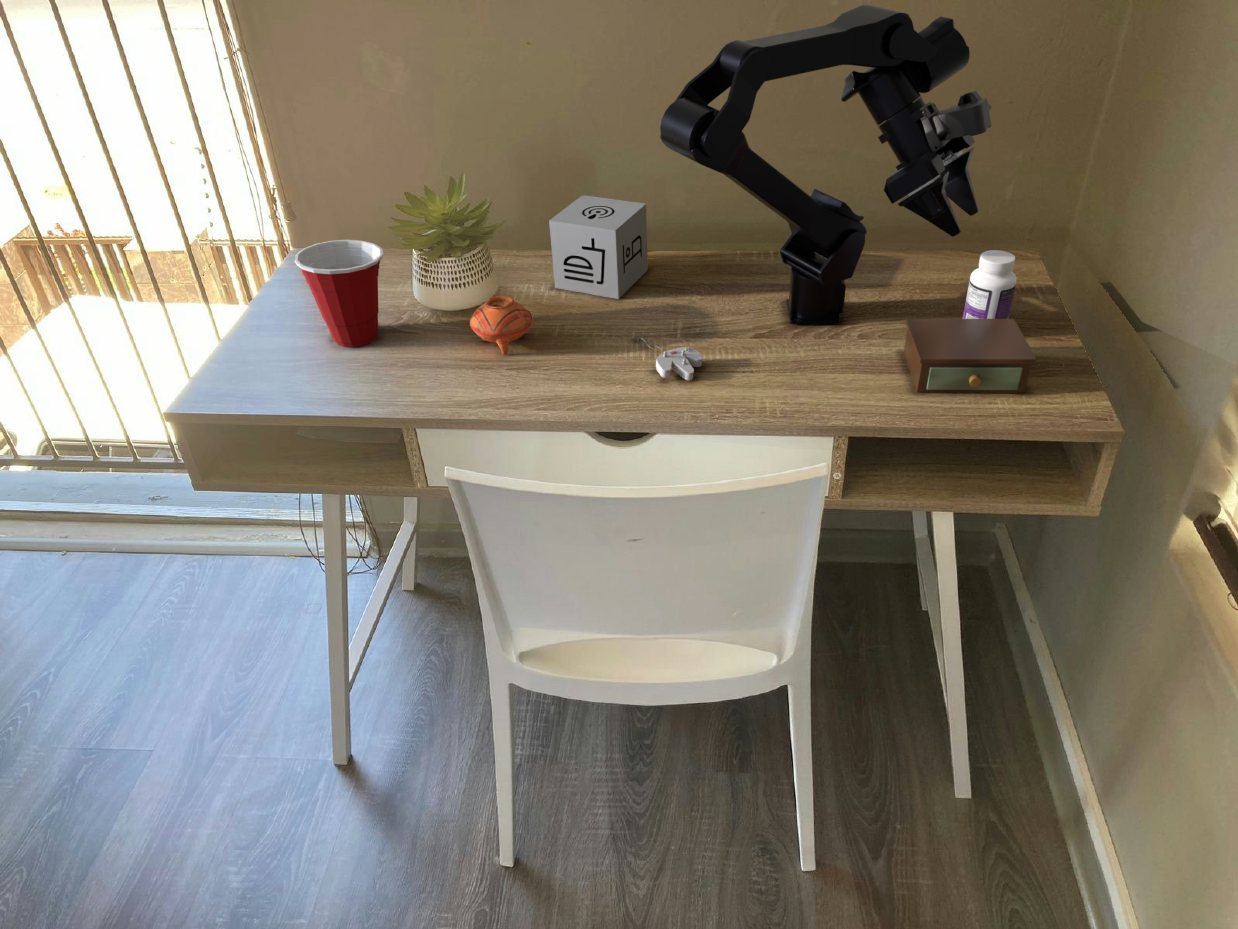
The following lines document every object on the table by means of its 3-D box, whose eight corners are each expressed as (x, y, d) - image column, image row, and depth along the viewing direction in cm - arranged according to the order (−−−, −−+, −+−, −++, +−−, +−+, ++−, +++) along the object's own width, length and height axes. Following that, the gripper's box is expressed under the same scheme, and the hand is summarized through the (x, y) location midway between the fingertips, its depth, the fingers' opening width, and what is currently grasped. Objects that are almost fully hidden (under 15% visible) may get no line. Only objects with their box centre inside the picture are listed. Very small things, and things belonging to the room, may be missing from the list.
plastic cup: (415, 333, 125) (399, 248, 118) (346, 365, 119) (325, 278, 112) (368, 309, 131) (350, 227, 124) (300, 339, 125) (277, 254, 118)
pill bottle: (1000, 318, 122) (1016, 247, 116) (1010, 338, 117) (1027, 265, 112) (957, 317, 122) (970, 247, 117) (965, 337, 118) (979, 265, 112)
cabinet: (915, 397, 108) (921, 362, 105) (900, 352, 116) (905, 318, 113) (1029, 397, 107) (1038, 362, 104) (1006, 352, 115) (1013, 318, 112)
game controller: (681, 387, 111) (681, 368, 110) (608, 358, 118) (607, 340, 116) (710, 368, 115) (710, 349, 113) (638, 340, 121) (637, 322, 119)
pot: (461, 355, 119) (457, 302, 116) (487, 340, 126) (484, 289, 123) (519, 361, 117) (517, 307, 114) (543, 344, 124) (541, 293, 121)
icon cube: (618, 298, 131) (615, 230, 125) (555, 287, 134) (549, 220, 128) (647, 269, 138) (646, 203, 132) (586, 260, 141) (582, 195, 136)
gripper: (939, 83, 100) (1013, 209, 102) (979, 57, 114) (1043, 169, 116) (853, 142, 107) (923, 259, 110) (899, 112, 121) (961, 216, 123)
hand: (966, 223), depth 114 cm, fingers open, 9 cm apart
